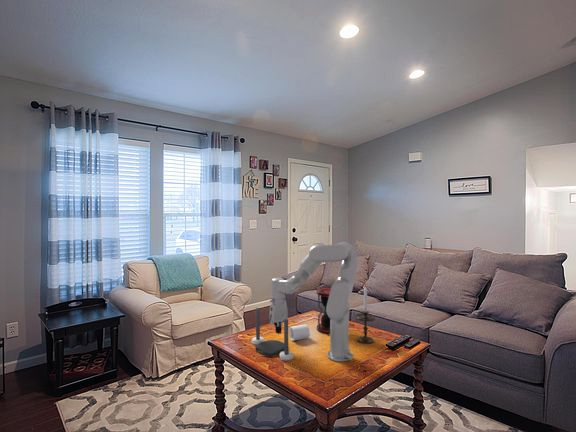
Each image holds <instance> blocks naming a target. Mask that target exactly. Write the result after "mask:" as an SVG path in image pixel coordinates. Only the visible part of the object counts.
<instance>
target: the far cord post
mask: <svg viewBox="0 0 576 432" xmlns="http://www.w3.org/2000/svg"><path fill="white" fill-rule="evenodd" d="M260 313H261V312H260V307H256V308H255V336H254V337H252V338H251V344H253V345H255V346H256V345H257V344H259V343H261V342H264V341H265V338H264V337H263V336H261V327H260V326H261V325H260V324H261V322H260V321H261V315H260Z"/></svg>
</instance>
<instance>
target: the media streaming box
mask: <svg viewBox="0 0 576 432" xmlns="http://www.w3.org/2000/svg"><path fill="white" fill-rule="evenodd" d="M255 351H256V352H257V353H259V354H261V355H262V356H265V357H269V358H271V357H275V356H280V353H281V352H283V351H284V341H283V342H282V341H280V340H277V339H276V340H275V339H268V340H264V342H261V343H259V344H257V345H255Z"/></svg>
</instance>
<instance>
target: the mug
mask: <svg viewBox="0 0 576 432" xmlns="http://www.w3.org/2000/svg"><path fill="white" fill-rule="evenodd" d="M310 334H311V332H310V328H309V326H308V324H306V323H305V324H300V325H294V326H290V327H288V336H289V339H290V340H291V341H292V342H294V341H295V342H296V341H302V340H306V339H309V338H310Z"/></svg>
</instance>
